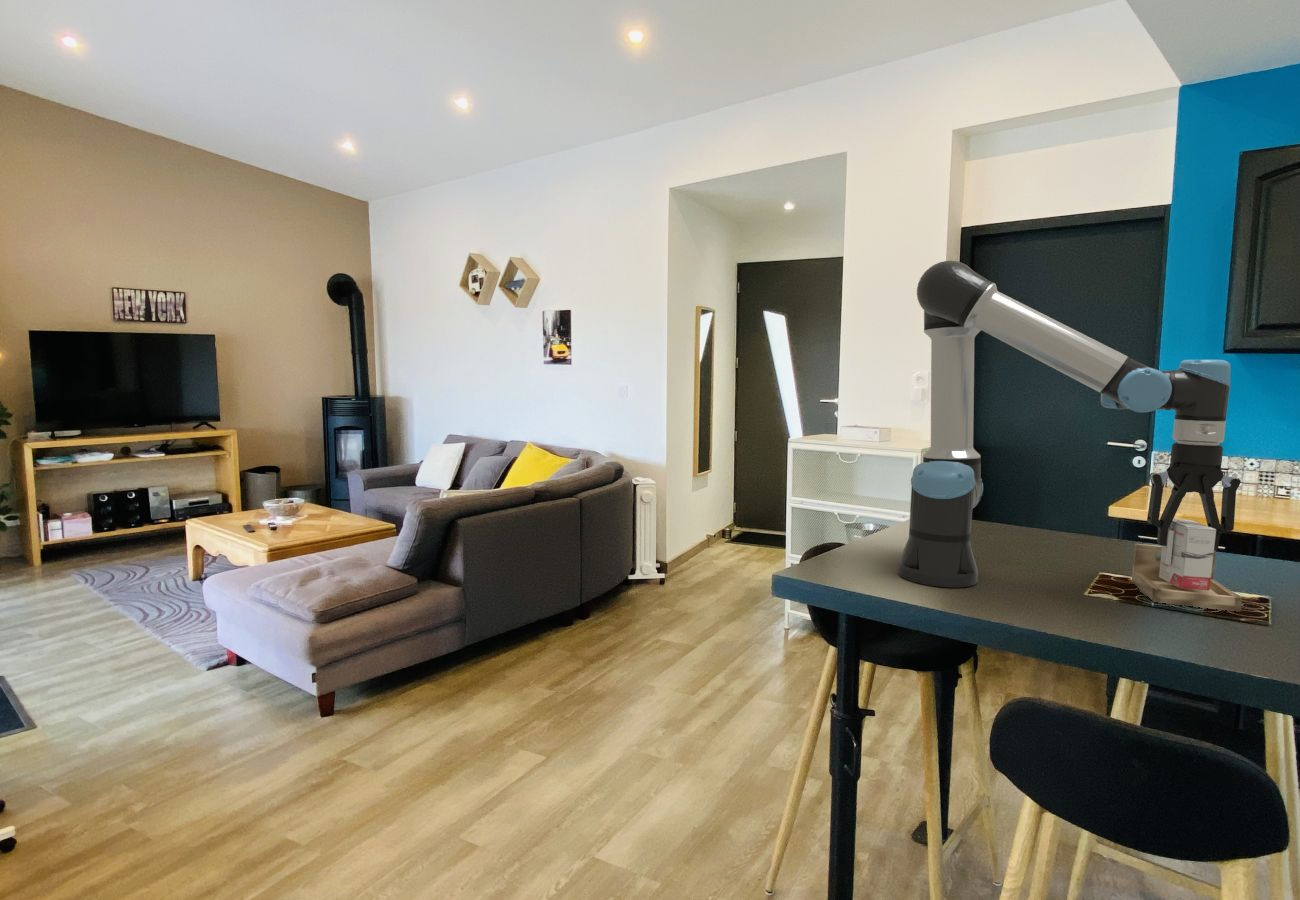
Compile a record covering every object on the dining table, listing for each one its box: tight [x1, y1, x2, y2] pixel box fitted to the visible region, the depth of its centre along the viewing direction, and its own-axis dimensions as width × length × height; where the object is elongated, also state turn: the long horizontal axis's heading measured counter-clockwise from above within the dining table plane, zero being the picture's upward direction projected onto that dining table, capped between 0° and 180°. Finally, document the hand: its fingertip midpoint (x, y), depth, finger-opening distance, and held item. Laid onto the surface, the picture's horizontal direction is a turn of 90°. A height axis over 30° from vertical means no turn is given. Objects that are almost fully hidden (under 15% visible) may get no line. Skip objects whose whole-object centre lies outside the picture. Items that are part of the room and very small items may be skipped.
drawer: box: [1131, 543, 1243, 613], centre depth 130 cm, size 13×14×8 cm
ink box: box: [1159, 518, 1216, 590], centre depth 129 cm, size 9×5×12 cm, turn 168°
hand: (1185, 564), depth 129 cm, fingers closed on ink box, 5 cm apart
